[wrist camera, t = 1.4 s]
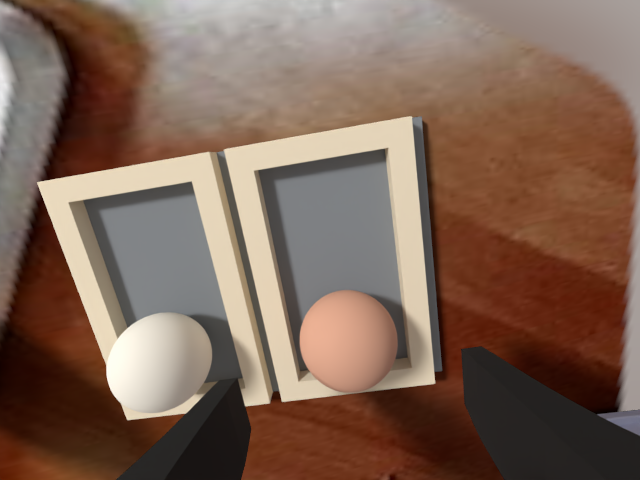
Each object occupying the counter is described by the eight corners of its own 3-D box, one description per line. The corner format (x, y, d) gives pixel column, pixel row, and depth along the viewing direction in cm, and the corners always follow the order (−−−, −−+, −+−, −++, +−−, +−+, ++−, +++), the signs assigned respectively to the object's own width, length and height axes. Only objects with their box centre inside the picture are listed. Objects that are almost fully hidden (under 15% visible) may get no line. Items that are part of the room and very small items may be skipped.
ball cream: (187, 426, 11) (230, 387, 15) (178, 311, 11) (221, 303, 15) (81, 438, 11) (151, 396, 15) (78, 325, 12) (145, 314, 16)
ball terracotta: (382, 270, 14) (402, 311, 10) (391, 346, 15) (413, 411, 11) (296, 282, 14) (284, 327, 10) (311, 357, 15) (305, 423, 11)
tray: (418, 117, 13) (427, 113, 12) (439, 365, 16) (448, 382, 15) (49, 182, 14) (23, 184, 13) (130, 403, 17) (116, 421, 16)
